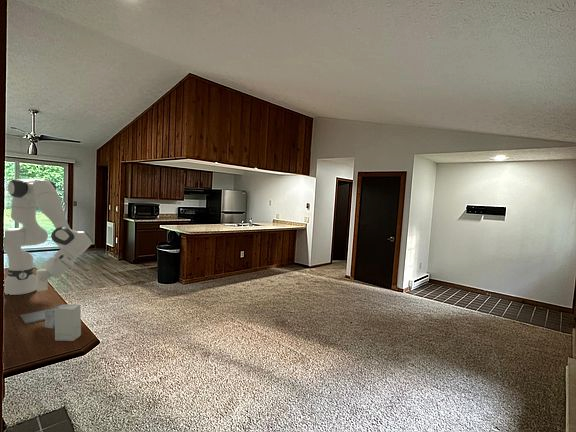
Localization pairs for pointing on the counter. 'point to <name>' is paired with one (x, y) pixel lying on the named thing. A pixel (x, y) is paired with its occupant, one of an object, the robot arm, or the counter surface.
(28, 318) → the mat
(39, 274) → the cream block
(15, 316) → the counter surface
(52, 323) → the medicine box
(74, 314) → the skincare box
